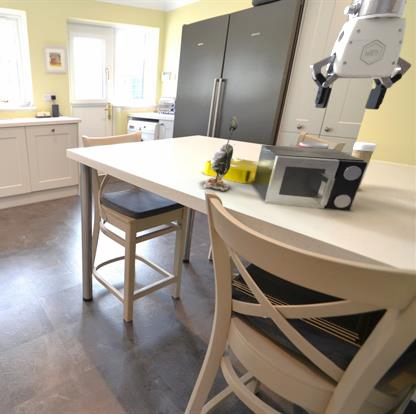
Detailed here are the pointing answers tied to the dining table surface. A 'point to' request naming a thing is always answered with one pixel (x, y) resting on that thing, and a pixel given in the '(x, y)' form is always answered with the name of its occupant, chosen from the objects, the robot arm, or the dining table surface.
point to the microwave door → (301, 181)
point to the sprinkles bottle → (363, 153)
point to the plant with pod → (222, 161)
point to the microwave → (347, 169)
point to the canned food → (313, 145)
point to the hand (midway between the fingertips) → (345, 108)
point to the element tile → (236, 170)
